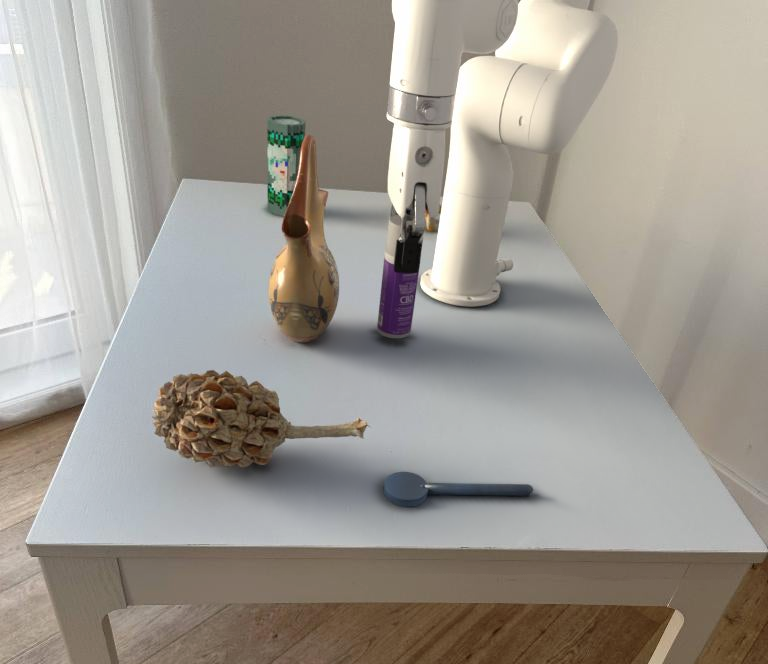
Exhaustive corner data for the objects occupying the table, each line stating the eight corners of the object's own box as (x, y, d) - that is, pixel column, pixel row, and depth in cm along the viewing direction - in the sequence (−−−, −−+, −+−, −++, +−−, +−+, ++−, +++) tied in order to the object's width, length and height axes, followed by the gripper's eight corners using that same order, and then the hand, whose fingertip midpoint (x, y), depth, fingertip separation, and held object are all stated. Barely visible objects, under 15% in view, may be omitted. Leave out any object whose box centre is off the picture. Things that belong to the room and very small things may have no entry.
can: (264, 213, 132) (263, 121, 122) (273, 202, 136) (274, 113, 126) (297, 218, 131) (299, 127, 122) (305, 207, 136) (308, 118, 126)
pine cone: (152, 489, 73) (141, 405, 66) (161, 433, 80) (151, 351, 73) (371, 487, 77) (381, 407, 70) (361, 433, 84) (369, 356, 77)
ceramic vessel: (326, 369, 93) (338, 161, 77) (256, 359, 93) (253, 149, 77) (343, 312, 106) (357, 122, 89) (282, 303, 106) (284, 112, 89)
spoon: (385, 506, 74) (386, 497, 74) (381, 478, 78) (382, 469, 77) (536, 508, 77) (539, 499, 76) (526, 480, 80) (528, 472, 79)
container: (399, 342, 99) (413, 231, 89) (370, 330, 101) (381, 220, 91) (416, 329, 102) (432, 221, 92) (388, 318, 104) (400, 211, 94)
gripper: (470, 130, 78) (444, 292, 90) (436, 91, 90) (417, 238, 102) (401, 125, 76) (383, 291, 88) (376, 86, 89) (364, 236, 101)
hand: (402, 261), depth 95 cm, fingers closed on container, 4 cm apart
